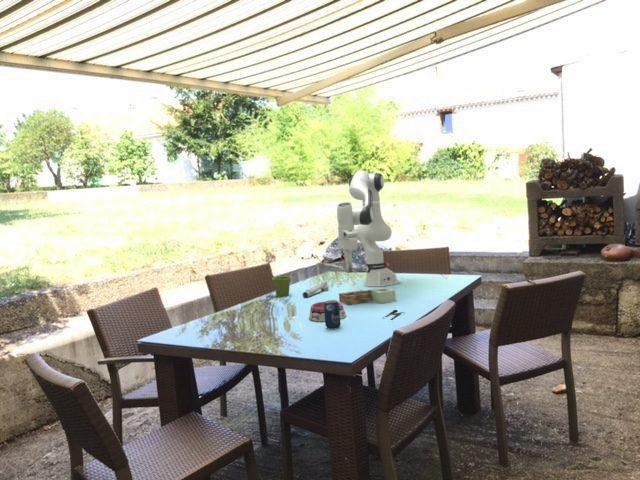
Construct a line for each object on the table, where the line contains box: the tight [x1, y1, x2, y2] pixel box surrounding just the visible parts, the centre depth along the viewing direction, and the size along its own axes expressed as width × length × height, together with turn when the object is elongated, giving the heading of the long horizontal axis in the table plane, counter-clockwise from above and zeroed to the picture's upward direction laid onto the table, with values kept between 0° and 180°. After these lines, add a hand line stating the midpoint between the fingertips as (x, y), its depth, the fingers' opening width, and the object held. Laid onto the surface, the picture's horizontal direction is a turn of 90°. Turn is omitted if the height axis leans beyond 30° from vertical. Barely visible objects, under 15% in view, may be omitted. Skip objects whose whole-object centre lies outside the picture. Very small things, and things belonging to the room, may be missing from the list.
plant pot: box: [271, 275, 292, 298], centre depth 326 cm, size 12×12×11 cm
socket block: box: [338, 289, 372, 306], centre depth 293 cm, size 14×12×4 cm
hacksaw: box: [382, 309, 406, 320], centre depth 250 cm, size 24×10×2 cm, turn 148°
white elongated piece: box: [302, 280, 330, 299], centre depth 325 cm, size 5×7×25 cm
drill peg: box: [343, 247, 354, 274], centre depth 290 cm, size 4×4×14 cm
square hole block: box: [370, 287, 397, 305], centre depth 288 cm, size 10×10×6 cm
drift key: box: [357, 288, 375, 294], centre depth 295 cm, size 12×2×5 cm, turn 109°
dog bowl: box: [308, 301, 347, 323], centre depth 260 cm, size 18×19×7 cm
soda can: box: [324, 299, 341, 330], centre depth 240 cm, size 7×7×12 cm
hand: (348, 257), depth 289 cm, fingers closed on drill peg, 4 cm apart
